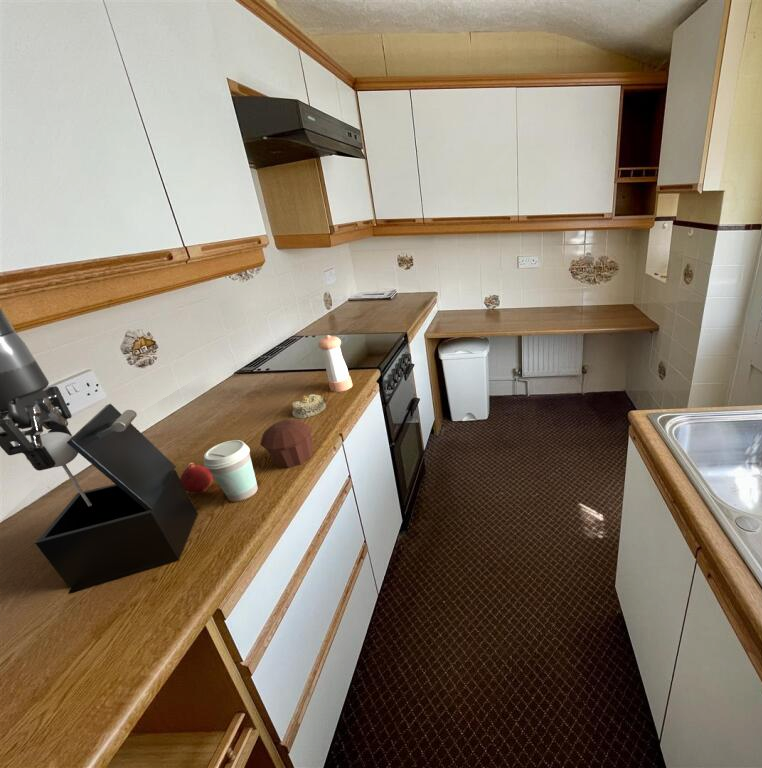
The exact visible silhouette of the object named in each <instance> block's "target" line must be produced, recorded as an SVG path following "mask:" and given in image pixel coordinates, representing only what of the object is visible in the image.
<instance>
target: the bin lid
mask: <svg viewBox="0 0 762 768" xmlns="http://www.w3.org/2000/svg"><path fill="white" fill-rule="evenodd" d="M137 415H138V413H137V412H136V411H135V410H133V409H126V410H124V412H123V413H121V412H120V411H119V410H118V409H117V408H116V407H115V406H114V405H112V403H109V404H106V405H105V406H104V407H103V408H102V409H100V410H99V411H98V412H97V413H96V414H95V415H94V416H93V417H92V418H91V419H90V420H89V421H88V422H87V423H86V424H85V425H83V426H82V427H81V428H80V429H79V430H78V431H77V432H76V433H75V434H74V435H72V436H73V437H72V438H71V439H70V440H69V441H67V443H68V444H69V445H70V446H71V447H72V448H73V449H75V450H76V451H77V452H78V455H80V456H82V457H83V458H84V459H85V460H86V461H88V463H90V464H91V465H92V466H94V467H95V469H97V470H98V471H99V472H100V473H102V474H103V475H104V476H105V477H106V478H108V479H109V480H110V481H112V483H113V484H116V485H117V486H118V487H120V488H121V489H122V490H123V491H124V492H125V493H127V494H128V495H129V496H130V497H131V498H133V499H134V500H135V501H136V502H137V503H138V504H140V505H141V506H142V507H143V508H144V509H146V510H147V511H149V510H151V509H152V508H153V507H154V505H155V503H156V501H157V500H158V498H159V496H160V494H161V492H162V491H163V489H164V487H165V485H166V484H167V482H168V480H169V478H170V476H171V475H172V473H173V471H174V470H176V467H177V466H176V465H175V464H174V463H173V462H172V461H171V460H170V459H168V457H167V456H166V455H164V454H163V452H162V451H161V450H159V449H158V448H157V446H155V444H153V443H152V442H151V441H150V440H149V439H148V438H147V437H146V436H145V435H143V433H142V432H141V431H140V430H139V429H138V428H137V427H135V426H134V424H133V423H132V422H133V421H134V420H135V419H136V417H137Z"/></svg>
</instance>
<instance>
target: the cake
mask: <svg viewBox="0 0 762 768" xmlns="http://www.w3.org/2000/svg"><path fill="white" fill-rule="evenodd" d="M302 398H303V399H302V400H297V401H293V402H292V404H291V407H292V410H293V411H292V416H293V417H294V418H299V419H305V418H310V417H314V416H316V415H317V416H318V415H319V414H321V413H322V412H323V411H325V410H326V408H327V403H326V402H325V401H324V398H323V396H321V395H319V394H312V393H311V394H309V395H303V397H302Z"/></svg>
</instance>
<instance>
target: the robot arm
mask: <svg viewBox="0 0 762 768" xmlns="http://www.w3.org/2000/svg"><path fill="white" fill-rule="evenodd" d="M49 383H50V382H49V380H48V378H47V376H46V375H45V374H44V372H43V370H42V368H41V367H40V365H39V363H38V362H37V360H36V358H35V357H34V355H33V354H32V352H31V350H30V349H29V347H28V345H27V344H26V342H25V341H24V340H23V339H22V338H21V337H20V336H19V334H18V333H17V332H16V330H15V329H14V327H13V325H12V324H11V321H10V320H9V319H8V317H7V315H6V314H5V311H3V309H2V307H0V448H1V449H2V450H3V452H4V453H6V455H8V456H14V455H19V454H23V455H24V456H25V458H26V457H27V458H26V460H27V459H28V460H27V461H28V462H29V463H30V465H31V466H32V468H34V469H35V470H36V471H39V472H41V471H45V470H49V469H52V467H53V466H54V465H55V464H56V463H55V462H54V460H53V459H52V457H51V456H50V454H49V452H48V451H47V449H46V448H45V446H43V445H42V441H41V436H40V435H42V434H43V433H44V429H46V430H48V431H47V433H50V432H62V433H66V434H69V435H71V436H73V434H72V433H71V431H70V430H69V428H68V425H69V421H68V420H69V419H71V418H72V412H71V411H70V409H69V407H68V405H67V403H66V400H65V399H64V396H63V395H62V393H61V390H60V389H59V387H58V386H56V385H54V386H49ZM48 386H49V387H48ZM58 408H59V409H58ZM26 429H27V430H26ZM22 430H23V431H22ZM27 437H30V440H29V439H28V438H27ZM31 441H32V443H30V442H31ZM12 442H14V444H13V443H12Z"/></svg>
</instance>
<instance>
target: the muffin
mask: <svg viewBox="0 0 762 768" xmlns="http://www.w3.org/2000/svg"><path fill="white" fill-rule="evenodd" d="M261 436H262V437H261V440H260V443H259V445H260V446H261V447H262V448H263V449H265V450H266V451H267V453H268V454H269V456H270V457H271V459H272V460H273V462H274V463H275V464H276V465H277V467H278V468H286V469H290V468H293V467H296V466H300V465H303V463H305V462H306V461H308V460H311V457H312V455H313V453H314V449H313V440H312V427H311V426H309V425H308V424H306V423H305V422H303V421H301V420H298V419H297V420H295V419H284V420H280V421H277V422H276V423H274V424H272V425H270V426H269V427H268V428H267V429H266V430H265V431H263V433H262V435H261Z"/></svg>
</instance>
